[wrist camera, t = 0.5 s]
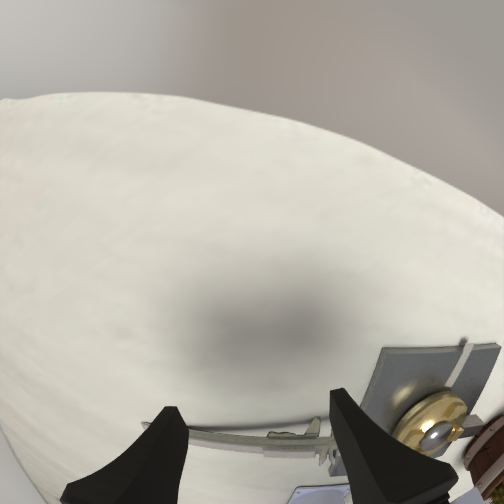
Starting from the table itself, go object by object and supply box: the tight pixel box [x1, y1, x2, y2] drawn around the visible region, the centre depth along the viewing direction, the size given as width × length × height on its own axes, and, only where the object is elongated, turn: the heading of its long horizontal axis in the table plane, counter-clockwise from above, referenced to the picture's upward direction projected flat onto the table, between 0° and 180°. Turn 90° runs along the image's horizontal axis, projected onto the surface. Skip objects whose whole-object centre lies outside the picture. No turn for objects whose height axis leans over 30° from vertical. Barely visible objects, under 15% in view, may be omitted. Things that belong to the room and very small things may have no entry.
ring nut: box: [392, 391, 485, 456], centre depth 19 cm, size 14×9×3 cm, turn 72°
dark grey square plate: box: [329, 342, 501, 477], centre depth 21 cm, size 19×19×1 cm
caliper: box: [141, 416, 340, 466], centre depth 20 cm, size 21×1×6 cm, turn 98°
